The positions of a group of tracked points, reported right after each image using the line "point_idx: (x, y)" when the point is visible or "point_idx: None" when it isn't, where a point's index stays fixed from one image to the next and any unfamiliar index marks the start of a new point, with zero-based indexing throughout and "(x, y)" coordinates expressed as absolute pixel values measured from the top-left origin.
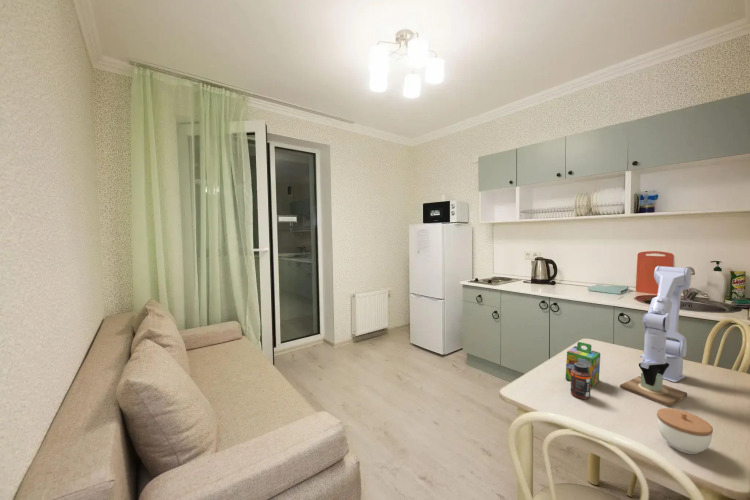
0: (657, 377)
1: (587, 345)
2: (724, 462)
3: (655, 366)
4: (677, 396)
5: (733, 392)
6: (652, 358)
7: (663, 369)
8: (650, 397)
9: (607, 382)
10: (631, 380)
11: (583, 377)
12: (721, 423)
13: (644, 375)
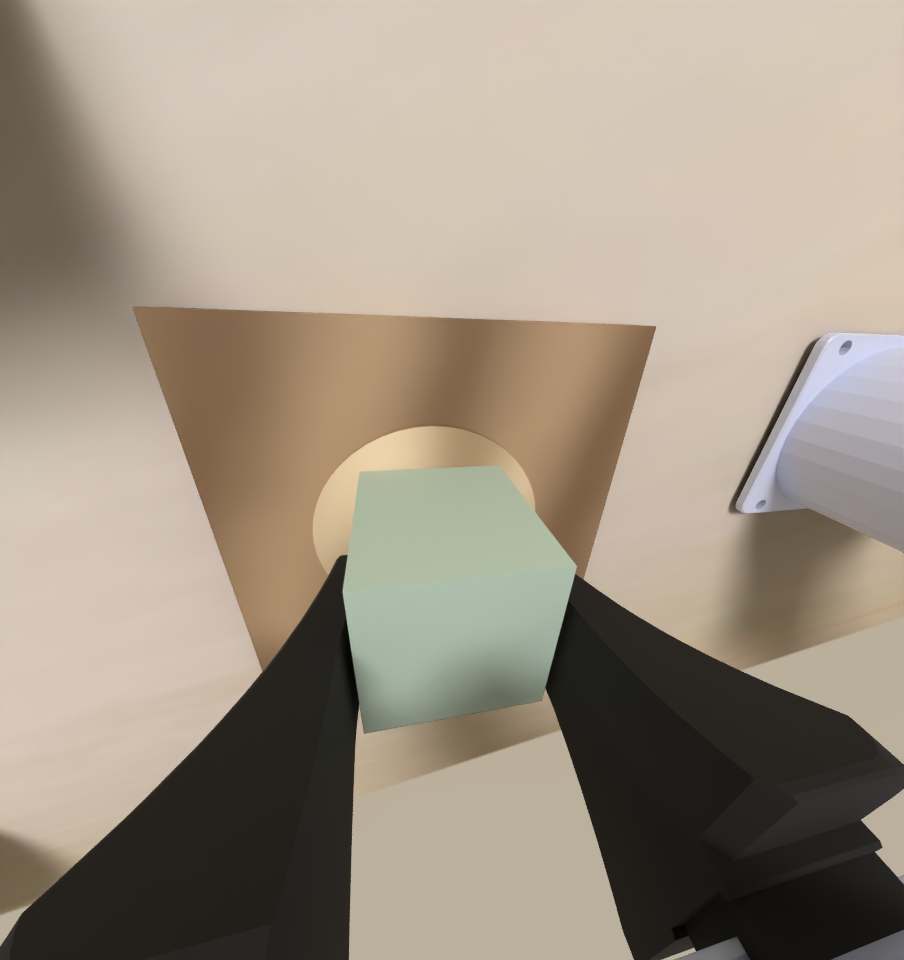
0: (392, 726)
1: None
2: (3, 888)
3: (628, 754)
4: None
5: (762, 647)
6: None
7: (588, 803)
8: (239, 586)
9: (113, 68)
10: (446, 331)
11: None
12: (363, 761)
13: (290, 649)
